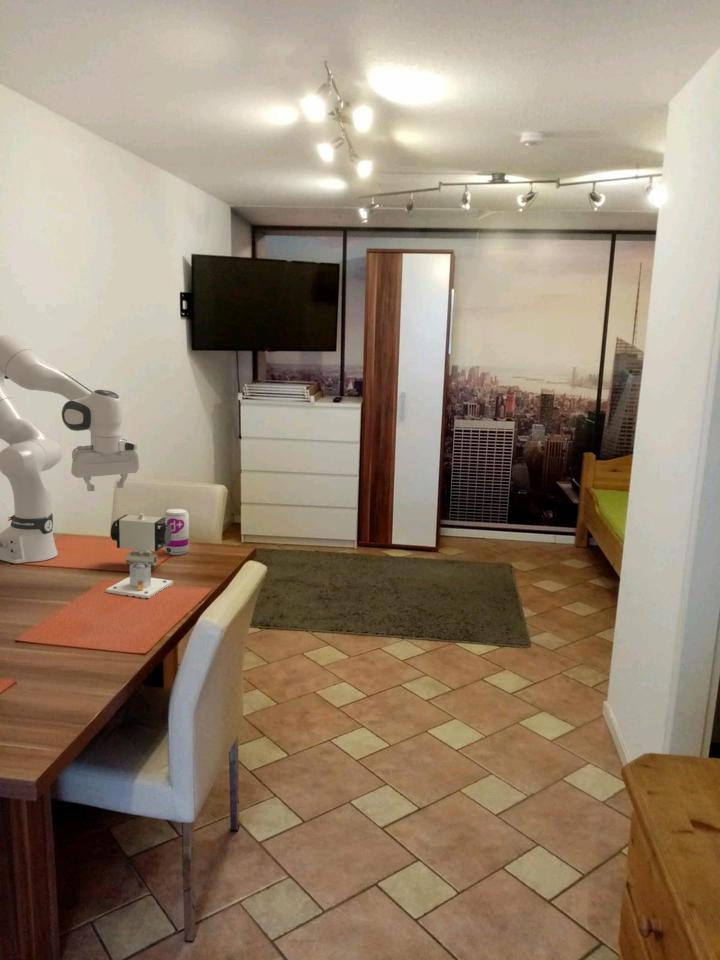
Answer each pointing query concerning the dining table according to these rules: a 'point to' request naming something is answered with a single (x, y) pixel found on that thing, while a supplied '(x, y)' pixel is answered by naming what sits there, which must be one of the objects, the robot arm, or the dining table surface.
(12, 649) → the dining table surface
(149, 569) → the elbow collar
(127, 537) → the ball valve
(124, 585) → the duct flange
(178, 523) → the supplement can
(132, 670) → the dining table surface
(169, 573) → the dining table surface
